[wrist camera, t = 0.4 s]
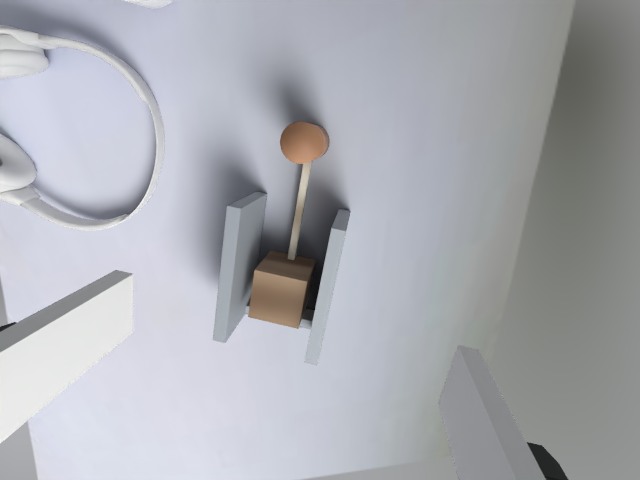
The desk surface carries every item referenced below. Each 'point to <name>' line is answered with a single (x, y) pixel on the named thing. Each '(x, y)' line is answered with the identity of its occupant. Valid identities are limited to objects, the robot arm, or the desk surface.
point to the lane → (243, 261)
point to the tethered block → (287, 268)
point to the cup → (151, 3)
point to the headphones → (12, 161)
